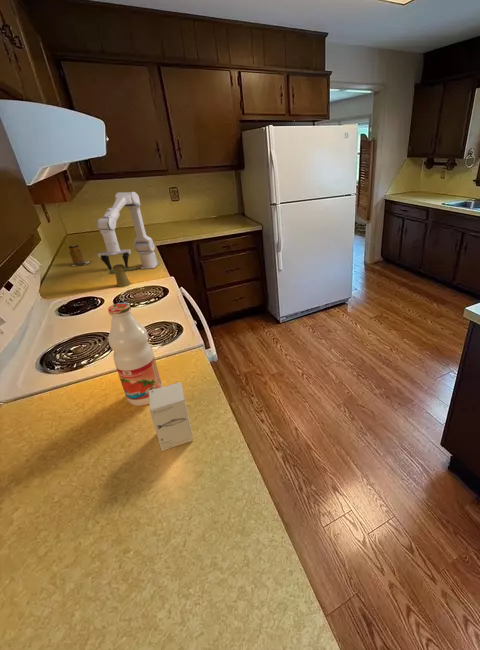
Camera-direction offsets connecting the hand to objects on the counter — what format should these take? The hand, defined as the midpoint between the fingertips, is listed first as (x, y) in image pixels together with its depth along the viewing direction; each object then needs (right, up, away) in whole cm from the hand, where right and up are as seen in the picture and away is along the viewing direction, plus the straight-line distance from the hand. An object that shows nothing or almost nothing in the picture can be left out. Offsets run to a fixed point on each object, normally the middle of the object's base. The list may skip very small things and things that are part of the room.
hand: (119, 268), depth 168 cm
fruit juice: (+49, -44, -75) cm, 100 cm away
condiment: (-46, +7, +40) cm, 62 cm away
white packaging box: (+63, -50, -89) cm, 120 cm away
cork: (0, -8, +4) cm, 9 cm away
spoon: (-11, +1, +24) cm, 27 cm away
